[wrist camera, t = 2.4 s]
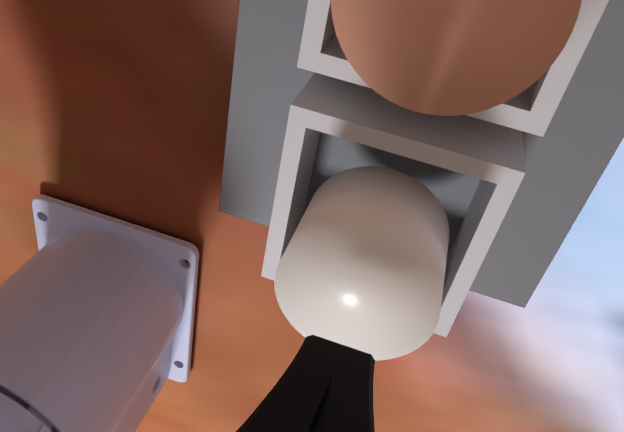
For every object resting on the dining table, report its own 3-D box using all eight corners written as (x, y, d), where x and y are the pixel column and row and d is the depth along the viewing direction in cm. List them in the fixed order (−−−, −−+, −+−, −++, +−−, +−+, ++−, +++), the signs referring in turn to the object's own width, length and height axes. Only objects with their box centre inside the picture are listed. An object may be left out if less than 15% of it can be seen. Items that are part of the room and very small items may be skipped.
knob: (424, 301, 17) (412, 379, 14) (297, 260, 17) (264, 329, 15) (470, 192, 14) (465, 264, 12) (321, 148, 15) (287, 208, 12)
